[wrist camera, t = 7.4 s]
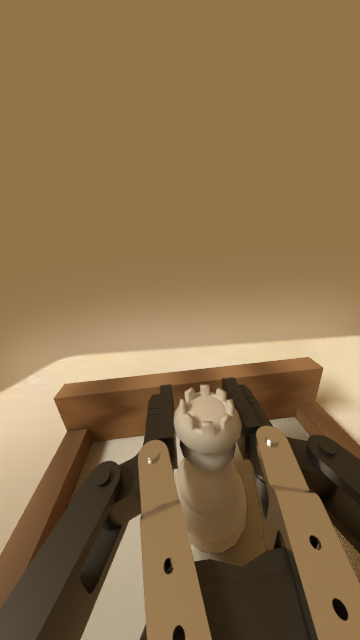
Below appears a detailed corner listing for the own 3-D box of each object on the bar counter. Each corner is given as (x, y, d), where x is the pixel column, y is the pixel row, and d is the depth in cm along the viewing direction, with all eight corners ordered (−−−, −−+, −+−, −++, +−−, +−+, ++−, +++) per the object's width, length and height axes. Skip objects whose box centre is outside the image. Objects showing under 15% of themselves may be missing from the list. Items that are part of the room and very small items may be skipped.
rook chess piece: (161, 487, 12) (144, 393, 9) (213, 450, 14) (213, 363, 11) (199, 586, 9) (191, 481, 6) (263, 518, 10) (281, 415, 8)
